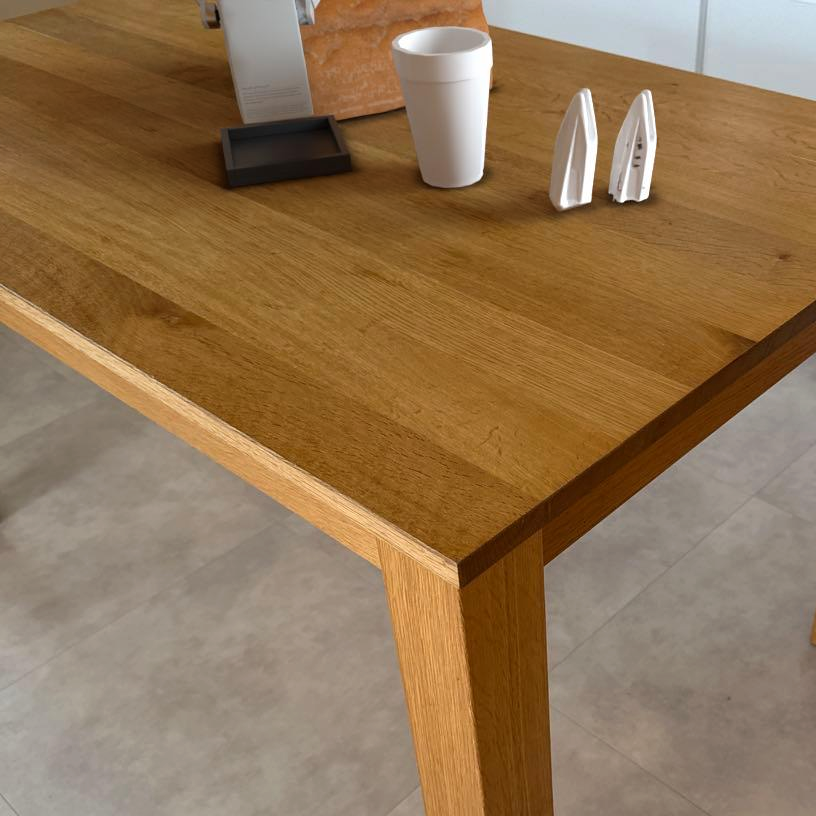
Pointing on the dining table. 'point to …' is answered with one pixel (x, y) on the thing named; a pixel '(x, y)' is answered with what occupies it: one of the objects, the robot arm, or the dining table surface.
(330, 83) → the bread
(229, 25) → the white packaging box
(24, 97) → the dining table surface
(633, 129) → the shaker set
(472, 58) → the foam cup
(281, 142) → the black rectangular tray
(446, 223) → the dining table surface
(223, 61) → the dining table surface
